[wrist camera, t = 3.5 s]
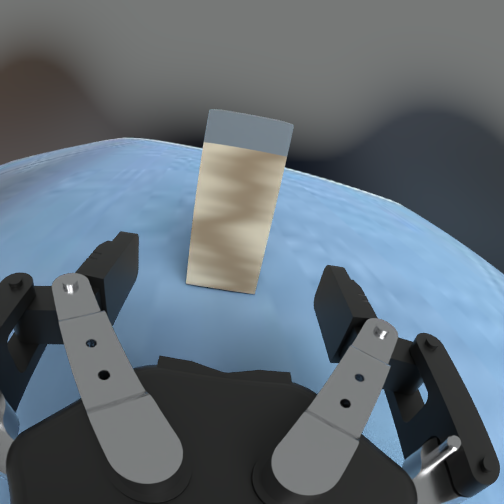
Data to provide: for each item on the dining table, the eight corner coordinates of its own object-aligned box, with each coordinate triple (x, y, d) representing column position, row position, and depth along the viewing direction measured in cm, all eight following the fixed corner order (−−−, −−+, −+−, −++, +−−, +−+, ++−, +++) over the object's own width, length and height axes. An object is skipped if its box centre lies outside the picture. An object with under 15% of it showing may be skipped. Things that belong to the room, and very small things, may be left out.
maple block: (185, 283, 21) (209, 109, 16) (195, 251, 26) (216, 109, 20) (254, 294, 22) (294, 124, 16) (252, 260, 26) (283, 121, 21)
